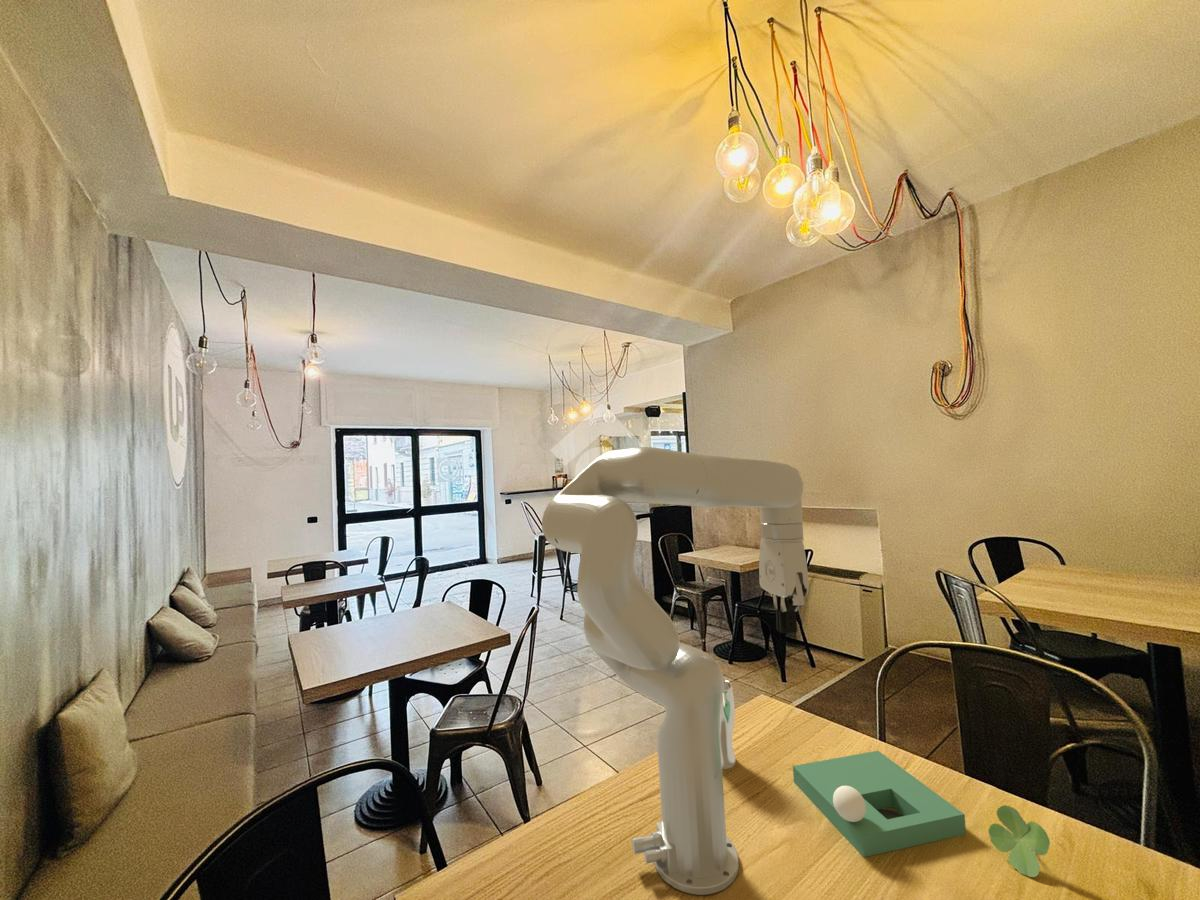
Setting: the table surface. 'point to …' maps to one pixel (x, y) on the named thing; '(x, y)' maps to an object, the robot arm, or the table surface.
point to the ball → (849, 803)
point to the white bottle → (727, 726)
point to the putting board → (880, 803)
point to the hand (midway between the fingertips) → (786, 631)
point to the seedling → (1019, 840)
